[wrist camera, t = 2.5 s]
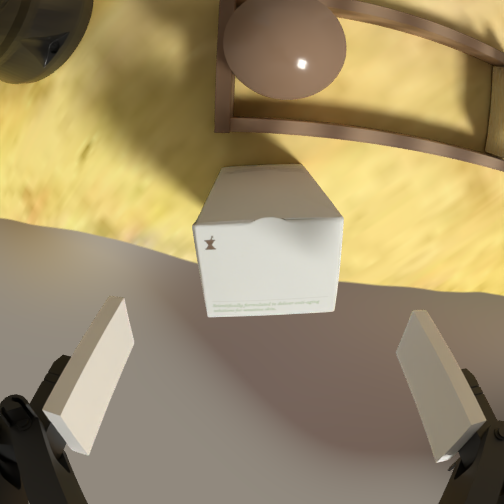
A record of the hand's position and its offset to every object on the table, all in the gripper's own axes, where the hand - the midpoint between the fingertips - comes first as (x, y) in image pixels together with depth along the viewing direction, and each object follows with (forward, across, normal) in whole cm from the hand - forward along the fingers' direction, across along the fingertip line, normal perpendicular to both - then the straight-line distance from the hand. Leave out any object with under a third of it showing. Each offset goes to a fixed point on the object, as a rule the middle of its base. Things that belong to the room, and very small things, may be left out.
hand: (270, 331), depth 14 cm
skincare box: (+20, 0, 0) cm, 20 cm away
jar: (+20, 0, +13) cm, 24 cm away
